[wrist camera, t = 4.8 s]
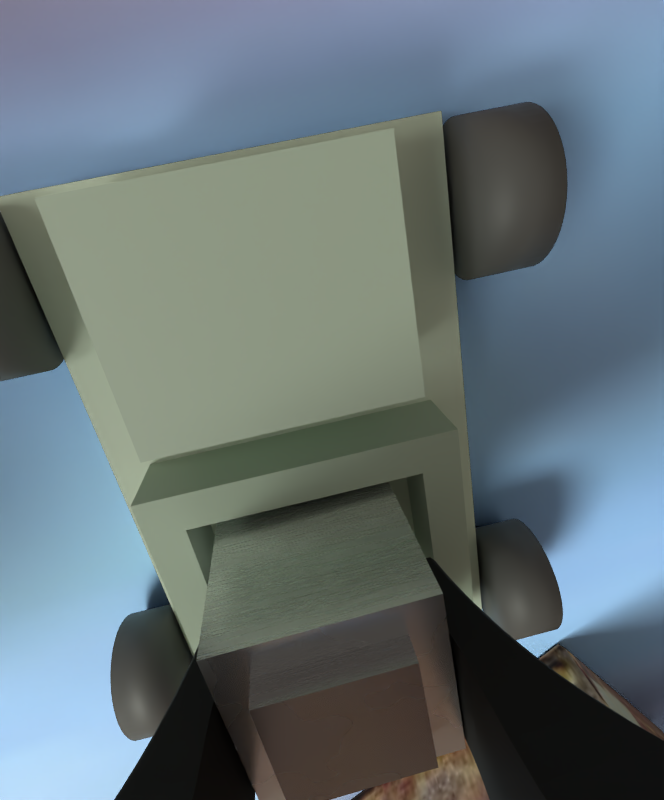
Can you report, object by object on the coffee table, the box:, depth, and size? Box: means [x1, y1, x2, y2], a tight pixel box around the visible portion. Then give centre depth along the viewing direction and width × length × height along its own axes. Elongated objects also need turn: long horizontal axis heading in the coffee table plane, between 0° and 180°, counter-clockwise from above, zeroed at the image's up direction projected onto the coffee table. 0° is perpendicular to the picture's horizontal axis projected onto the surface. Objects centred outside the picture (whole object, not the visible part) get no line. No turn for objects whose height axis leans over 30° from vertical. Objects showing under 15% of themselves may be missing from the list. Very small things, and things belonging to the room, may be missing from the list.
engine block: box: [196, 482, 466, 800], centre depth 11 cm, size 4×4×6 cm
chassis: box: [0, 102, 567, 741], centre depth 13 cm, size 13×16×4 cm
